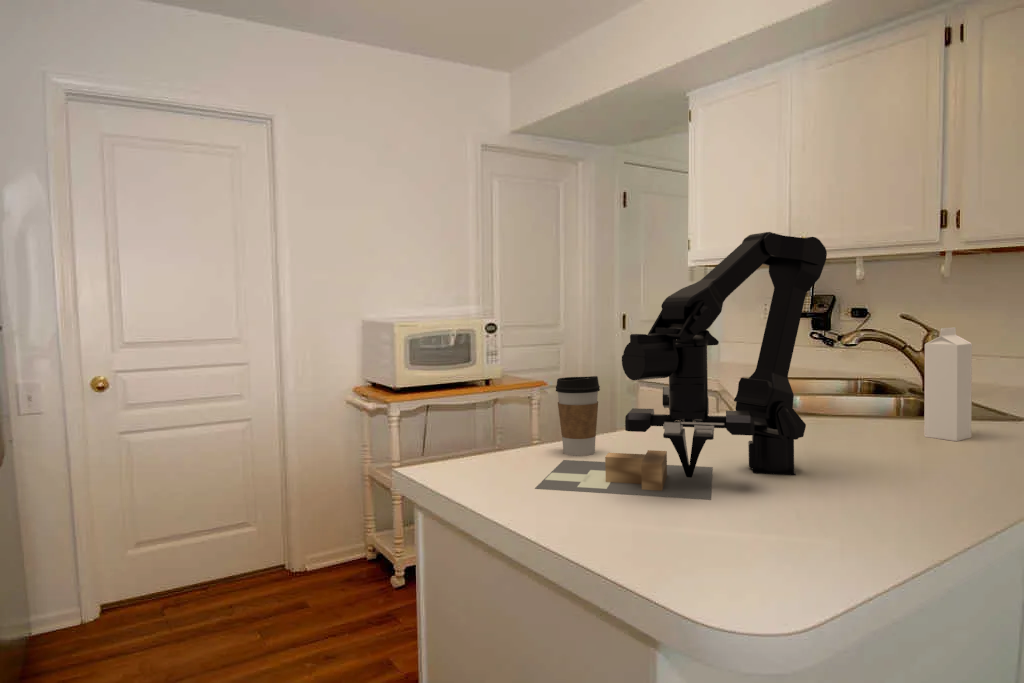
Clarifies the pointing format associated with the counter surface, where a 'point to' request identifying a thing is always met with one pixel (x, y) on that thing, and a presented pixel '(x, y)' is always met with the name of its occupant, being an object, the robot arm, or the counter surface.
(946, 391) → the milk
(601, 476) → the mat
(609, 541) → the counter surface
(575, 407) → the coffee cup
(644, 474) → the t block
